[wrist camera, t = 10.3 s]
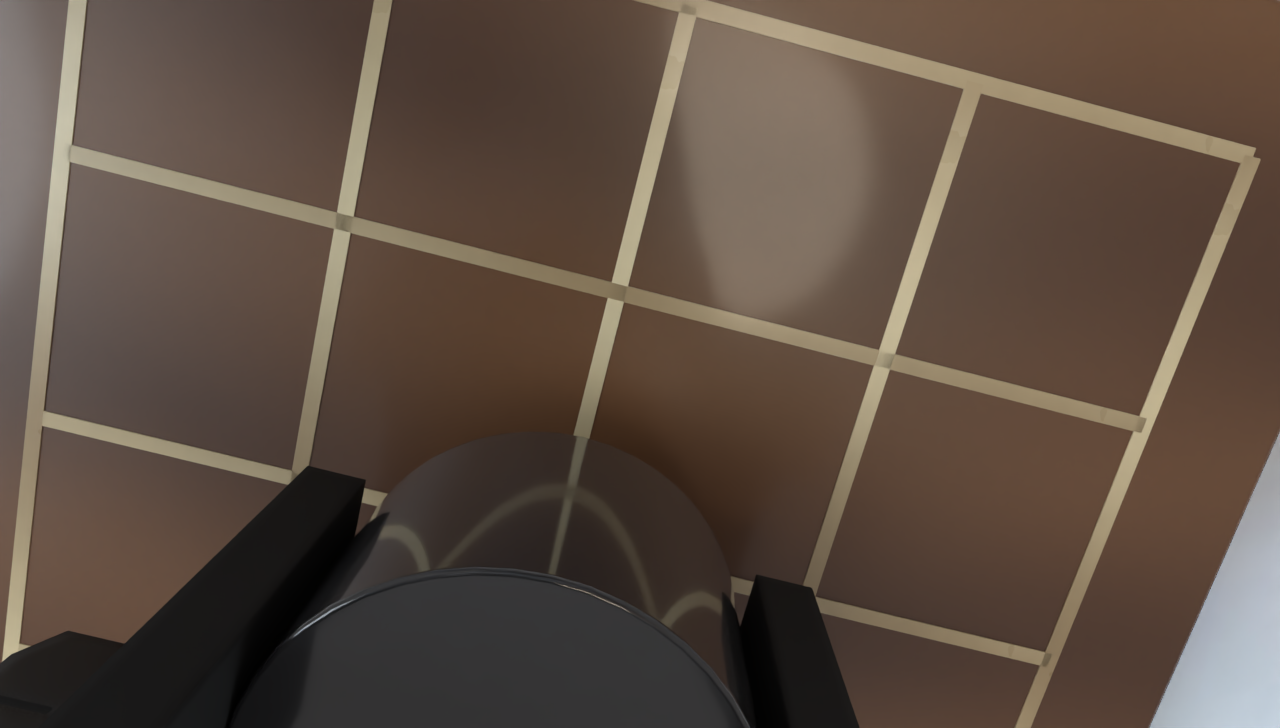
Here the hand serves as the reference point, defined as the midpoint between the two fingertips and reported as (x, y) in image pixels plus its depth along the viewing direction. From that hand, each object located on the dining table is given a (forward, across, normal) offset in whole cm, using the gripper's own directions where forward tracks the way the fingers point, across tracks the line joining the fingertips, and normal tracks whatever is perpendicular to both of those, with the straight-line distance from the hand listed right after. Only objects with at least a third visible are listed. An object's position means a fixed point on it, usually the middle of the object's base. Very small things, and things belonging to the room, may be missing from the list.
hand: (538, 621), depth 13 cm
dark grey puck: (0, 0, 0) cm, 0 cm away
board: (+4, 0, 0) cm, 4 cm away
